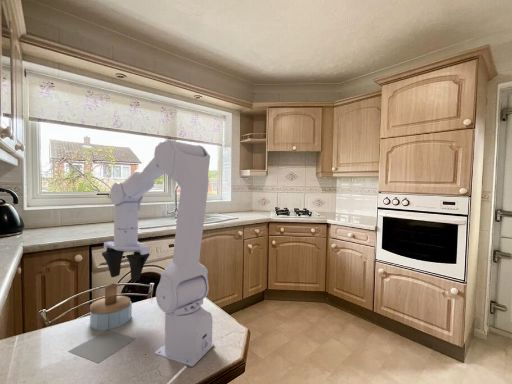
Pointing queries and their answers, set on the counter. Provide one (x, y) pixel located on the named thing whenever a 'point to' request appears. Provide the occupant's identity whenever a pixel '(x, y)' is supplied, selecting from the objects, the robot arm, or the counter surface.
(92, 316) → the bowl
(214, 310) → the counter surface
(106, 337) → the mat
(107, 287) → the lid
